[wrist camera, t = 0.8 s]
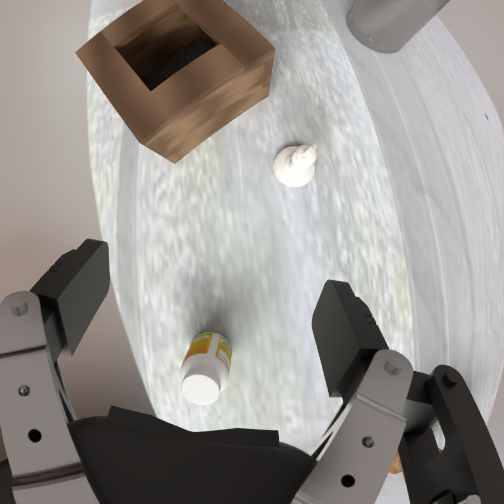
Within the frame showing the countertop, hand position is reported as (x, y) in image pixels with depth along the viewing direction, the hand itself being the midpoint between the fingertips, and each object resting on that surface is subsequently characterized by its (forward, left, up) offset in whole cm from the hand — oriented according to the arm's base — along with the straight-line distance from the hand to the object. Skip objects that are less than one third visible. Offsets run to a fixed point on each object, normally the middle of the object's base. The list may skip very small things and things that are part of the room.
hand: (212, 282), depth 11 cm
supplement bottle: (+12, +10, -25) cm, 30 cm away
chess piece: (-10, -2, -25) cm, 27 cm away
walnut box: (-6, -18, -25) cm, 32 cm away
